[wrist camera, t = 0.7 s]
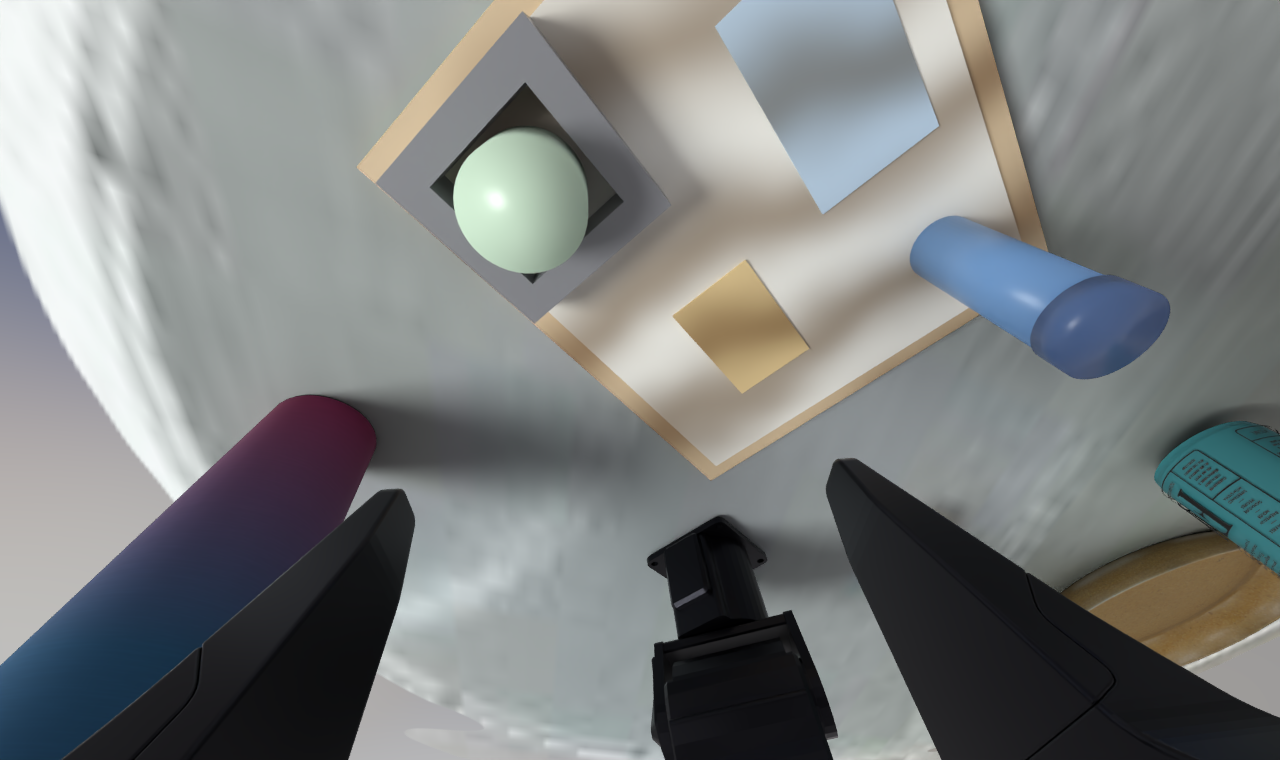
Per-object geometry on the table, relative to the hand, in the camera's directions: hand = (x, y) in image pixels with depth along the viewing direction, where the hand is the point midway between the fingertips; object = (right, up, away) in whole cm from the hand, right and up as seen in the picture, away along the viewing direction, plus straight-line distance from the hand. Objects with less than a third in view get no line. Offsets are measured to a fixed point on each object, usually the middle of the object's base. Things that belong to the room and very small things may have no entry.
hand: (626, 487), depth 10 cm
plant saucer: (+48, -18, +35) cm, 62 cm away
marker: (+14, +8, +11) cm, 19 cm away
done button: (-4, +9, +7) cm, 12 cm away
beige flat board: (+5, +9, +10) cm, 15 cm away
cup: (-16, 0, +15) cm, 22 cm away
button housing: (-4, +10, +8) cm, 13 cm away
